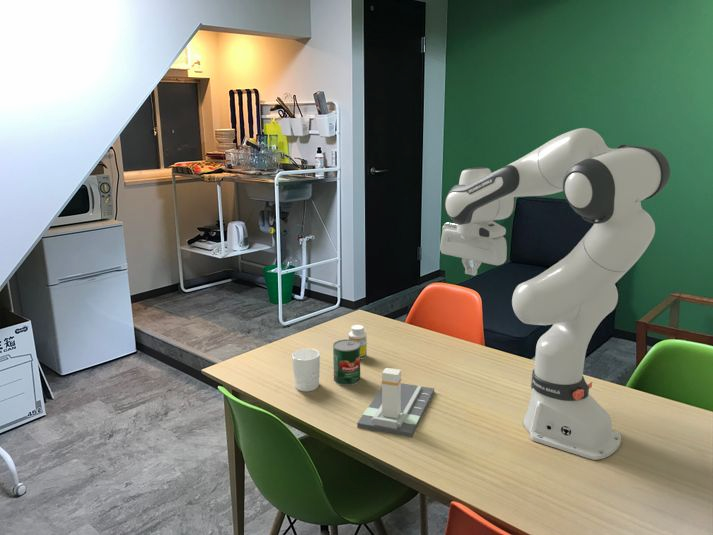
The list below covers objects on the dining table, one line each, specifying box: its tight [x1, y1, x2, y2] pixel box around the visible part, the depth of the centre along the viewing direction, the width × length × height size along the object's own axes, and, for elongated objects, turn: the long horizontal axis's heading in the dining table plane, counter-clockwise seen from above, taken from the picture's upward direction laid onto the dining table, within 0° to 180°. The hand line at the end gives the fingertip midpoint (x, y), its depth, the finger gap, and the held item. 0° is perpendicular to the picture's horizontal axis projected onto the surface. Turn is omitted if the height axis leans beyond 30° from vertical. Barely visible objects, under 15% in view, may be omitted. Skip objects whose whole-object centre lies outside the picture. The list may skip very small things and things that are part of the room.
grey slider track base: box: [356, 382, 435, 438], centre depth 152 cm, size 14×24×3 cm, turn 160°
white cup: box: [291, 348, 321, 392], centre depth 164 cm, size 8×8×10 cm
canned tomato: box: [332, 338, 361, 386], centre depth 168 cm, size 8×8×11 cm
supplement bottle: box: [348, 324, 368, 360], centre depth 183 cm, size 6×6×10 cm
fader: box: [381, 367, 402, 418], centre depth 145 cm, size 4×3×12 cm
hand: (470, 274), depth 162 cm, fingers closed
